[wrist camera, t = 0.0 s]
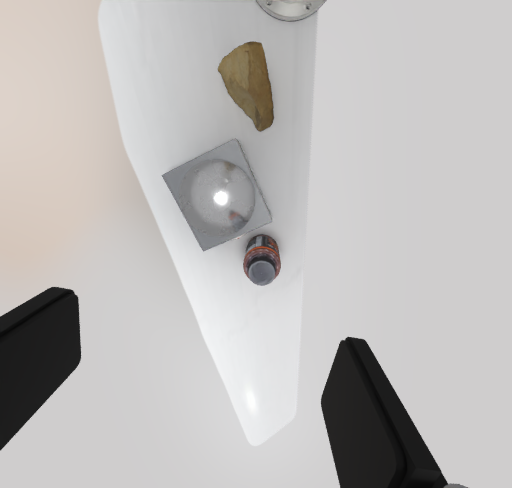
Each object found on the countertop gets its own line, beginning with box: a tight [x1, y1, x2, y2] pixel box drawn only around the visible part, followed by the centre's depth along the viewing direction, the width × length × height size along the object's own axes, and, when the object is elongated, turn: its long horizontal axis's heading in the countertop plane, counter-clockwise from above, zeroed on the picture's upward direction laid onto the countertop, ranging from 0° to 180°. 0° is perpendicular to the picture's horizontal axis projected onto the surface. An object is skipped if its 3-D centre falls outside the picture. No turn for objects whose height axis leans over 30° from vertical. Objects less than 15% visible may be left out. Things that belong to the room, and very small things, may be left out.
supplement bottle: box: [243, 235, 281, 286], centre depth 42 cm, size 6×6×11 cm
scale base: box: [162, 138, 272, 251], centre depth 42 cm, size 14×13×4 cm
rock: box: [218, 42, 274, 131], centre depth 37 cm, size 11×9×10 cm
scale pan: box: [179, 160, 255, 237], centre depth 40 cm, size 12×12×1 cm
